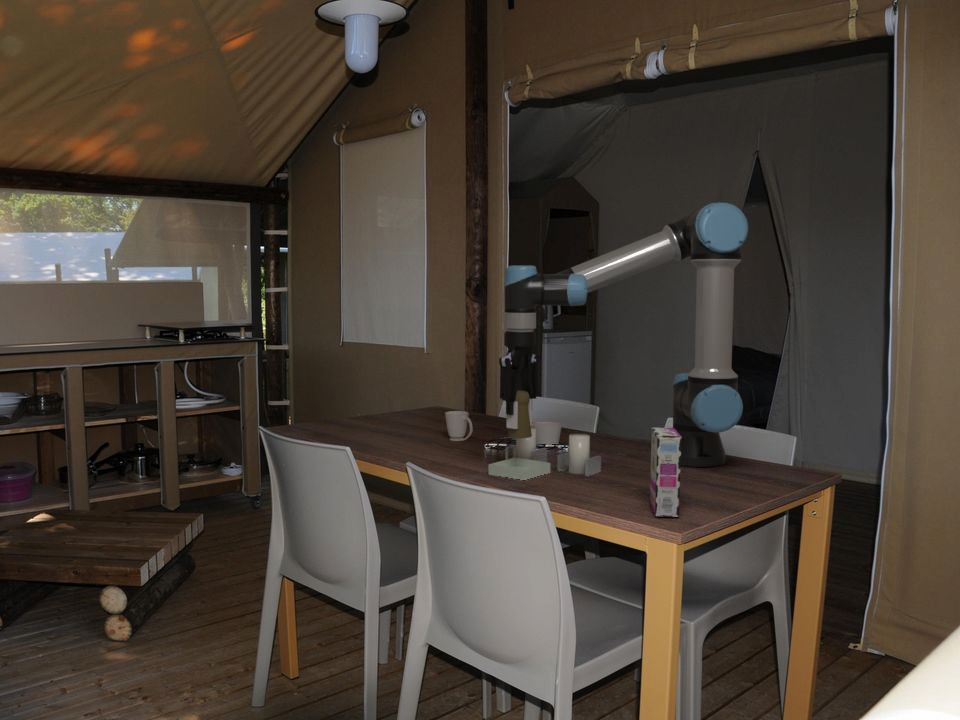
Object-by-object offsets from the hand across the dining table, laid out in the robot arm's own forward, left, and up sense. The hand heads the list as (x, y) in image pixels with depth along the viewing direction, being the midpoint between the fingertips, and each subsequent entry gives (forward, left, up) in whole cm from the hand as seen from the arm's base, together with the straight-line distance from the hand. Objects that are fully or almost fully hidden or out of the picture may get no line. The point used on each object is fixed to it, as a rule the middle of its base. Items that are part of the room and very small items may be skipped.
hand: (519, 426), depth 205 cm
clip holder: (-2, -11, -12) cm, 16 cm away
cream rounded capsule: (+6, -11, -12) cm, 17 cm away
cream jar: (-10, -11, -12) cm, 19 cm away
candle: (+15, -33, -12) cm, 38 cm away
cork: (0, 0, -3) cm, 3 cm away
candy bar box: (-43, +9, -12) cm, 46 cm away
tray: (0, 0, -12) cm, 12 cm away
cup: (+40, -25, -12) cm, 49 cm away
